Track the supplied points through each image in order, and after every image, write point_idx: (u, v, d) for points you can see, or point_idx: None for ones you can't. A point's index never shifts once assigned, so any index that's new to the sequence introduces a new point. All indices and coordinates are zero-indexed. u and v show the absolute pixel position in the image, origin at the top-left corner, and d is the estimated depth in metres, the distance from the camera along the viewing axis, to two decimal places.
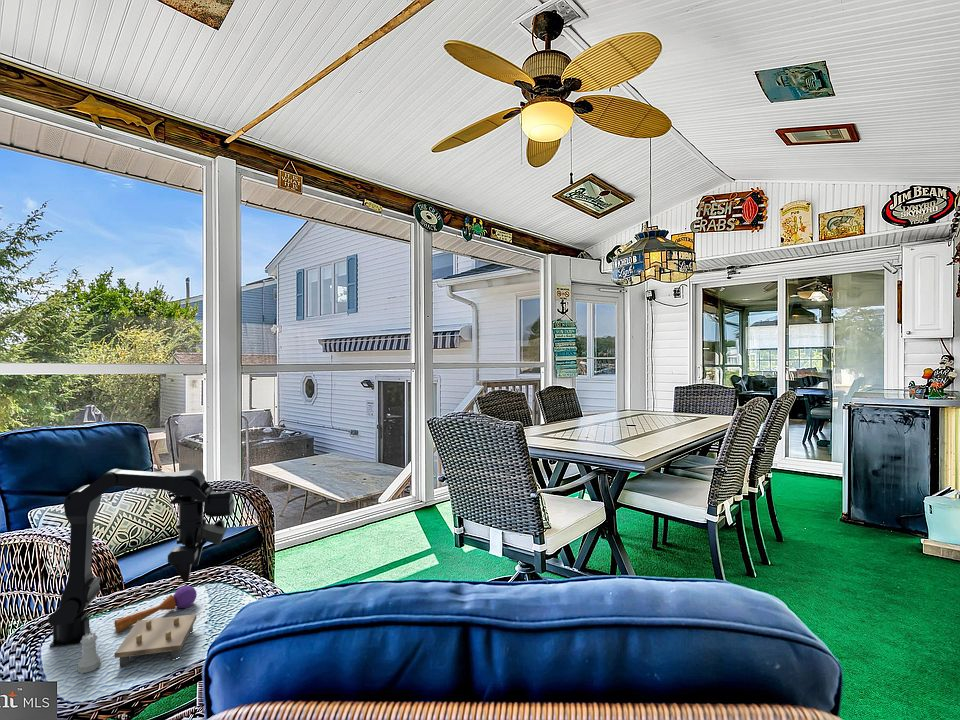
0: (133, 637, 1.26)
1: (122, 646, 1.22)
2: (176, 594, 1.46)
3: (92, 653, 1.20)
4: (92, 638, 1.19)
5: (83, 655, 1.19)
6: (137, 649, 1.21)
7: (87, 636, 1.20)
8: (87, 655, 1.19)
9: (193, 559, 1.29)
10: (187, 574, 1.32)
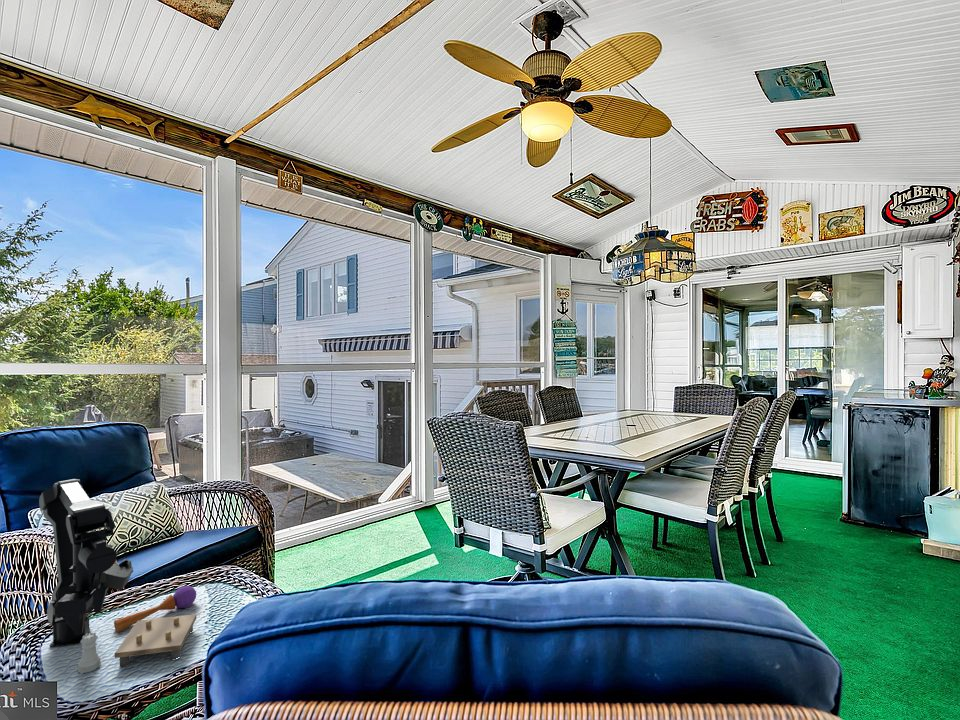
0: (133, 637, 1.26)
1: (122, 646, 1.22)
2: (176, 594, 1.46)
3: (92, 653, 1.20)
4: (92, 638, 1.19)
5: (83, 655, 1.19)
6: (137, 649, 1.21)
7: (87, 636, 1.20)
8: (87, 655, 1.19)
9: (84, 610, 1.11)
10: (80, 626, 1.15)
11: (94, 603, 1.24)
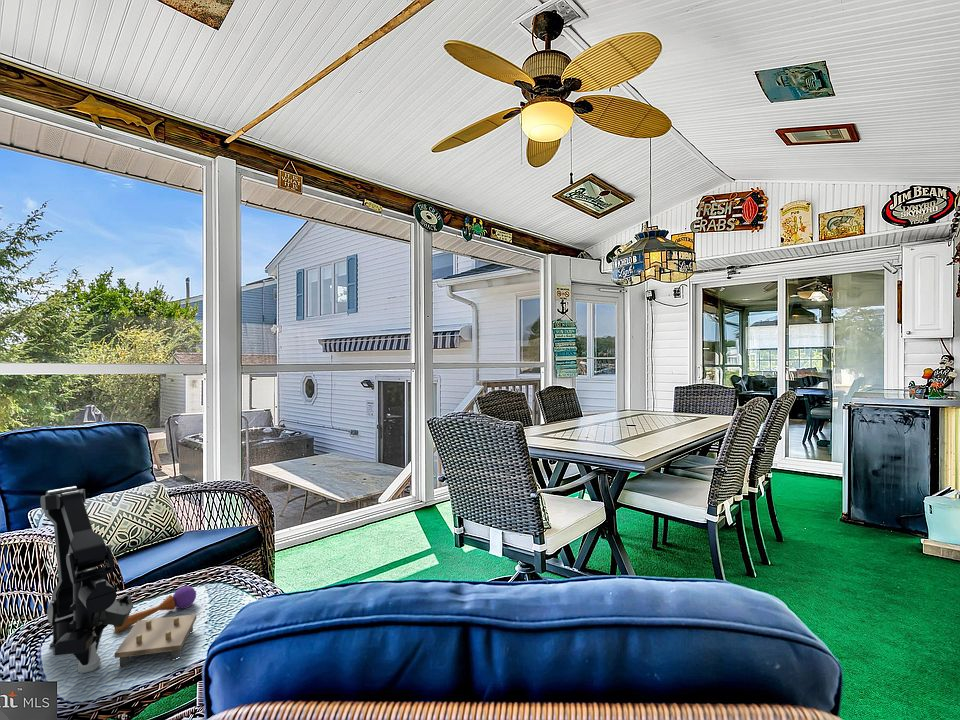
0: (133, 637, 1.26)
1: (122, 646, 1.22)
2: (175, 594, 1.46)
3: (92, 653, 1.20)
4: None
5: None
6: (137, 649, 1.21)
7: None
8: None
9: (84, 649, 1.12)
10: (86, 657, 1.17)
11: None
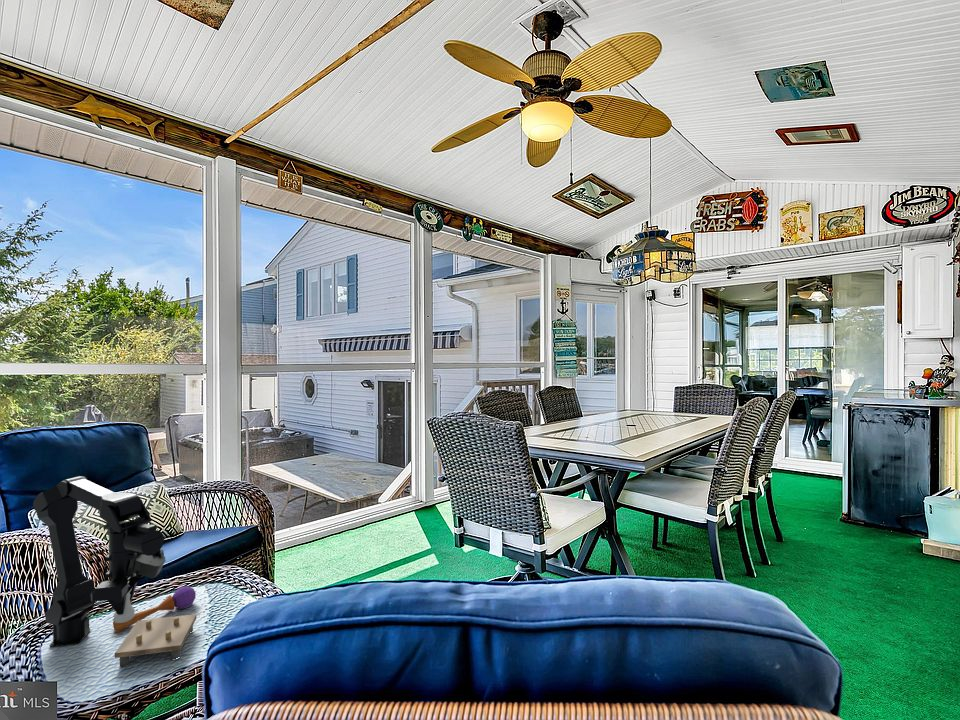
0: (133, 637, 1.26)
1: (122, 646, 1.22)
2: (175, 595, 1.45)
3: (127, 604, 1.23)
4: None
5: None
6: (137, 649, 1.21)
7: None
8: None
9: (120, 596, 1.15)
10: (121, 606, 1.21)
11: None
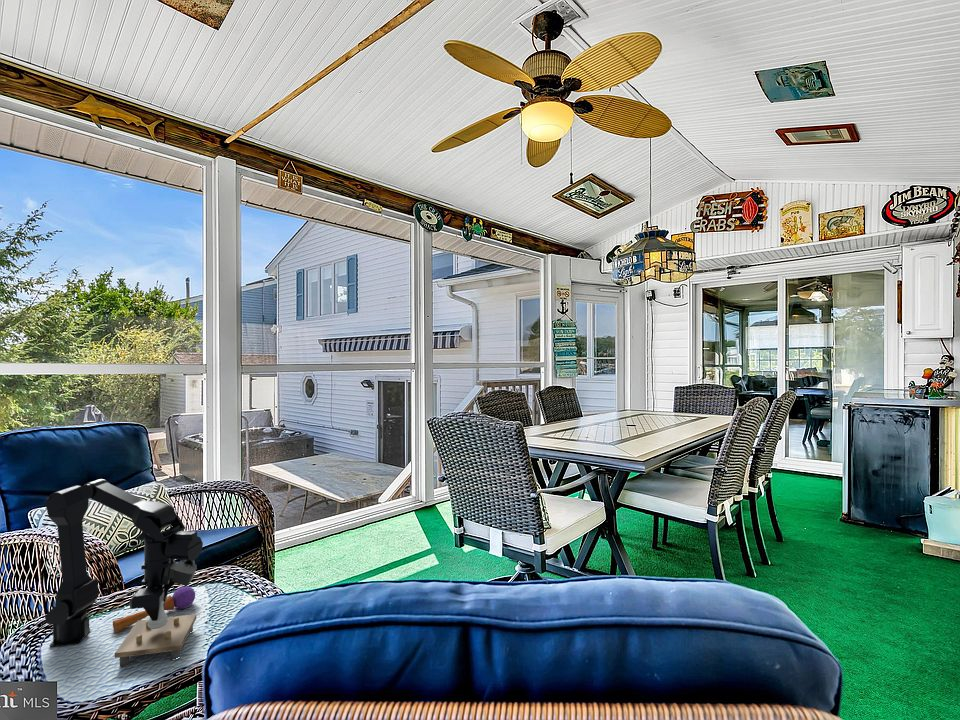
0: (133, 637, 1.26)
1: (122, 646, 1.22)
2: (175, 595, 1.45)
3: (161, 611, 1.27)
4: None
5: None
6: (137, 649, 1.21)
7: None
8: None
9: (158, 604, 1.20)
10: (156, 613, 1.25)
11: None
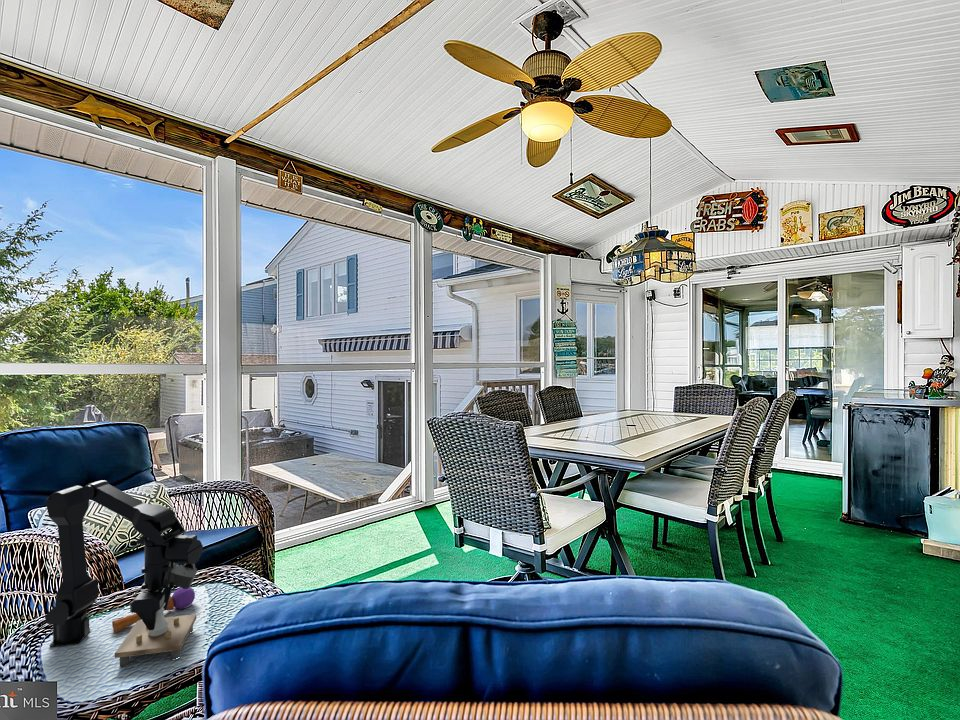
0: (133, 637, 1.26)
1: (122, 646, 1.22)
2: (174, 595, 1.45)
3: (161, 618, 1.28)
4: None
5: None
6: (137, 649, 1.21)
7: None
8: (157, 620, 1.27)
9: (158, 607, 1.20)
10: (153, 622, 1.23)
11: None
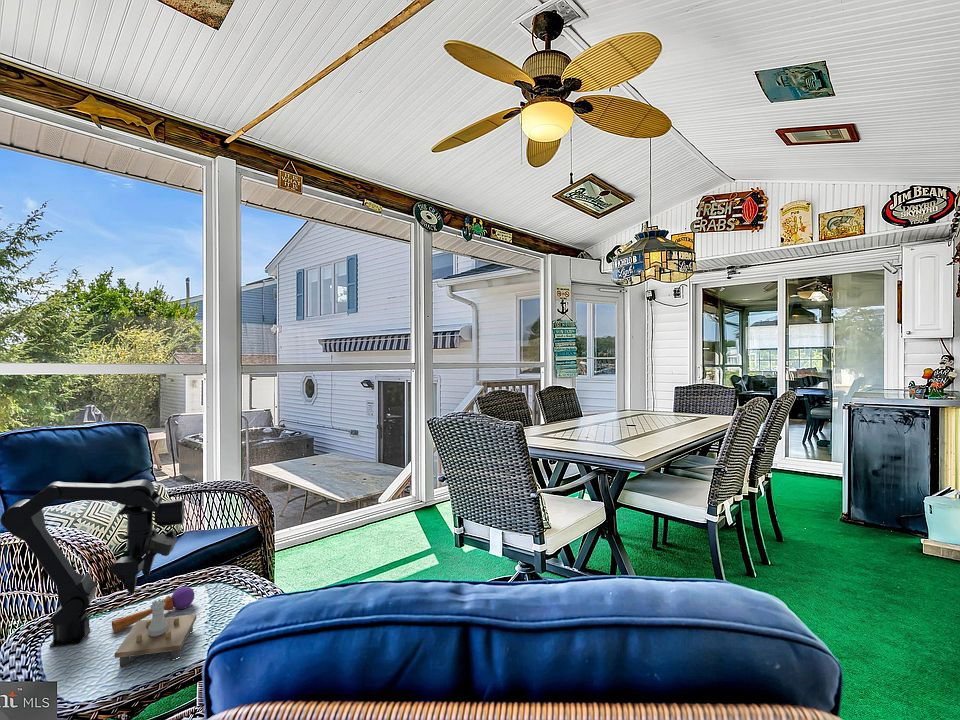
0: (133, 637, 1.26)
1: (122, 646, 1.22)
2: (174, 595, 1.45)
3: (161, 618, 1.28)
4: (161, 604, 1.27)
5: (153, 620, 1.27)
6: (137, 649, 1.21)
7: (156, 602, 1.28)
8: (157, 620, 1.27)
9: (137, 571, 1.28)
10: (132, 585, 1.31)
11: (143, 568, 1.41)
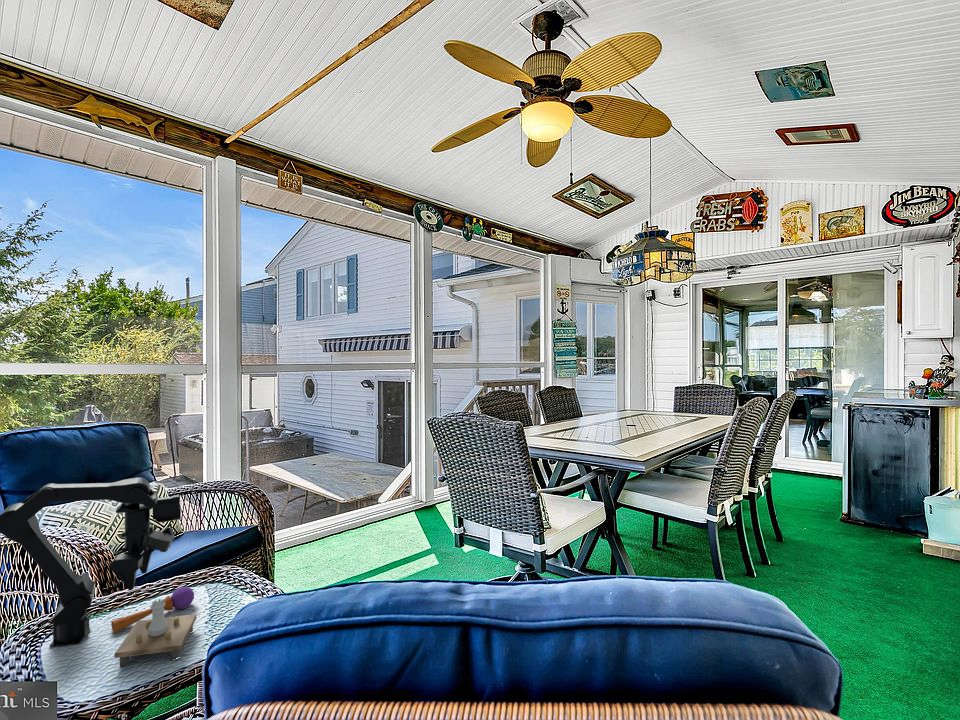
0: (133, 637, 1.26)
1: (122, 646, 1.22)
2: (173, 595, 1.45)
3: (161, 618, 1.28)
4: (161, 604, 1.27)
5: (153, 620, 1.27)
6: (137, 649, 1.21)
7: (156, 602, 1.28)
8: (157, 620, 1.27)
9: (136, 567, 1.30)
10: (132, 582, 1.33)
11: None
